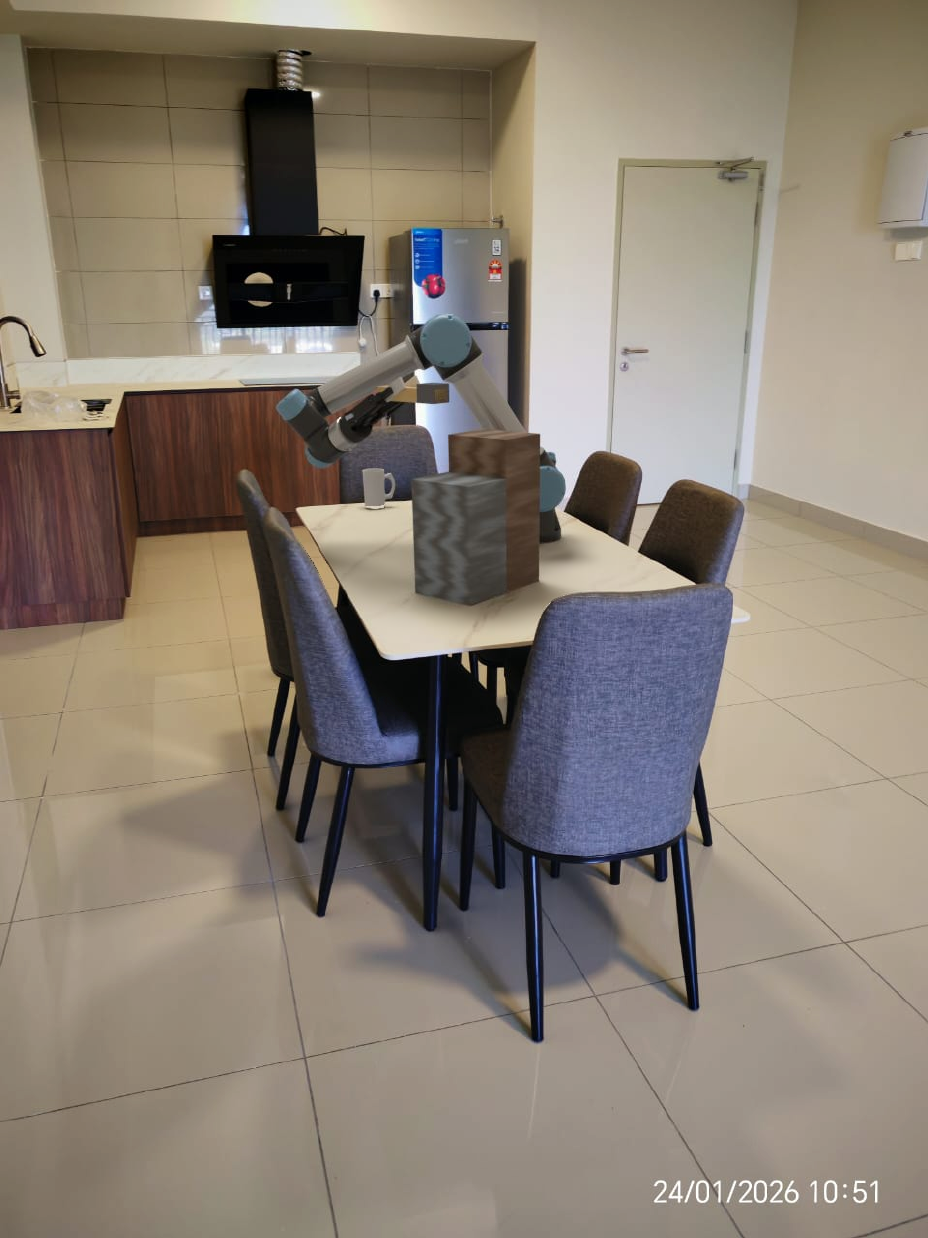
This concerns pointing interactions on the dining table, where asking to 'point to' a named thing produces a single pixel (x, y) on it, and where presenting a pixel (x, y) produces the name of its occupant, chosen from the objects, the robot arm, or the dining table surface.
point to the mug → (376, 486)
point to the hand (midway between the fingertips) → (410, 381)
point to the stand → (479, 518)
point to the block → (423, 393)
